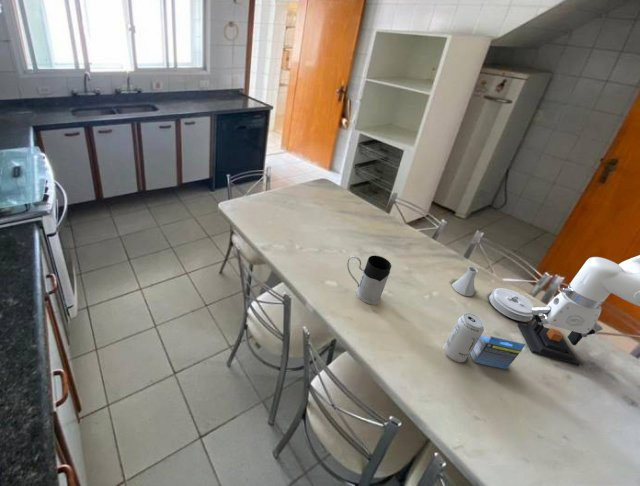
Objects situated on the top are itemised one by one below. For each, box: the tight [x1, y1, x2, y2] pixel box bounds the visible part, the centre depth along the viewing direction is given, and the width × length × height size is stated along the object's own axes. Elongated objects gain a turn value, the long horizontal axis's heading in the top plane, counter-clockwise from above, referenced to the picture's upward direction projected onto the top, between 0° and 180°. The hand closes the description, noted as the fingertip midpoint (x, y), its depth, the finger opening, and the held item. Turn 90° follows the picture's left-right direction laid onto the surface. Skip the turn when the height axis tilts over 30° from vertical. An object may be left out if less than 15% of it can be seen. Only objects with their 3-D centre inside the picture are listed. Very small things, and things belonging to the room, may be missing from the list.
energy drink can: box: [443, 313, 485, 363], centre depth 95 cm, size 6×6×15 cm
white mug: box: [346, 255, 392, 306], centre depth 115 cm, size 9×14×15 cm, turn 60°
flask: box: [451, 266, 479, 297], centre depth 121 cm, size 7×7×10 cm
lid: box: [488, 287, 535, 323], centre depth 116 cm, size 13×13×5 cm
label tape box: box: [469, 335, 526, 370], centre depth 94 cm, size 9×4×12 cm, turn 78°
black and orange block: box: [538, 327, 568, 353], centre depth 102 cm, size 5×7×5 cm
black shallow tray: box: [517, 322, 581, 367], centre depth 104 cm, size 12×11×2 cm
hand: (552, 336), depth 102 cm, fingers open, 9 cm apart
